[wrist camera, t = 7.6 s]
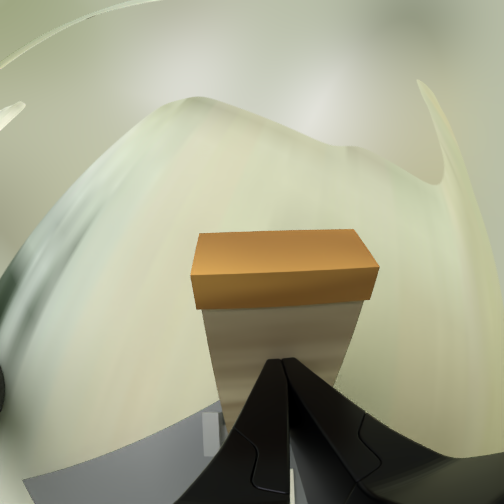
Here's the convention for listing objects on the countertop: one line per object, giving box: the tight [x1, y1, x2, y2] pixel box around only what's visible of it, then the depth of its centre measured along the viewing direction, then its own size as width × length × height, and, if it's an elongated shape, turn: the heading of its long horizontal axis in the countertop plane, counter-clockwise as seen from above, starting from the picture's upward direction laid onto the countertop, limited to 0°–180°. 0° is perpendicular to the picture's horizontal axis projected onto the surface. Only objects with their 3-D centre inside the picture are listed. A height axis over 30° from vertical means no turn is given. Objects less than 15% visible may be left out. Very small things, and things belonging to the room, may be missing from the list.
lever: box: [190, 229, 379, 434], centre depth 10 cm, size 2×4×10 cm, turn 93°
